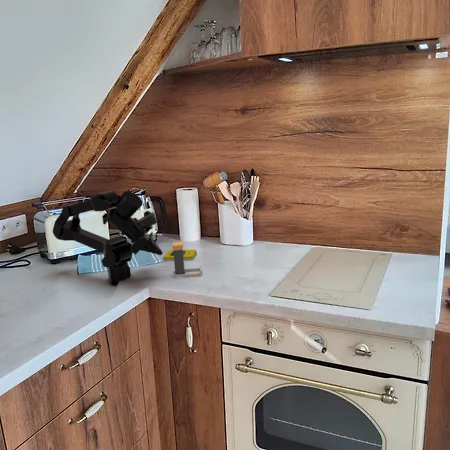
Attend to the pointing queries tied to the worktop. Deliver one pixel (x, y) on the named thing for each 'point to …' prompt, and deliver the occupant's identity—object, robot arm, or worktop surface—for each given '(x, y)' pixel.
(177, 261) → the toggle
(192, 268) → the breaker panel
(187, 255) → the emergency button
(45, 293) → the worktop surface
